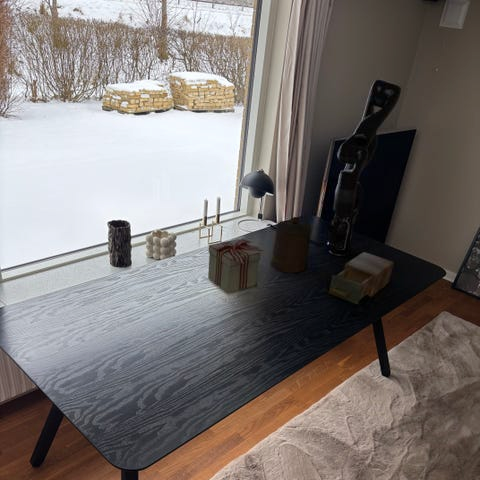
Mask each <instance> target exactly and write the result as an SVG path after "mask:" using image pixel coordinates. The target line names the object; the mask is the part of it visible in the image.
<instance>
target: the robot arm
mask: <svg viewBox="0 0 480 480" xmlns="http://www.w3.org/2000/svg"><path fill="white" fill-rule="evenodd" d="M401 93H402V88H401V86H400V85H399V84H396V83H393V82H390V81H387V80H384V79H380V78H377V79H375V80H374V82H373V83H372V85H371V88H370V90H369V94H368V97H367V100H366V103H365V108H364V111H363V115H362V118H361V121H360V122H359V124H358V125H357V127H356V129H355V130H354V132H353V134H351V135H350V136H349V137H348V138H347V139H346V140H345V141H344V142H343V143H342V144H341V145H340V146H339V149H338V151H337V159H338V161H339V162H340V163H342V164H345V167H344V170H340V172H339V175H338V181H337V185H336V188H335V191H334V200H333V206H332V210H333V212H334V213H335V214H334V217H333V219H330V220H329V237H328V239H327V240H323V241H320V242H316V241H314V240H312V239H311V238H310V239H309V243H311V244H314V245H317V246H321V245H322V244H325V247H327V250H326V251H327V252H328V253H329V254H331V255H332V256H336V257H348V255H349V254H350V247H351V242H352V237H353V232H354V227H355V223H356V217H357V216H358V214H359V212H360V208H361V204H362V200H363V194H364V193H363V192H364V191H363V190H364V189H363V186H362V184H361V183H360V182H359V178H360V175H361V173H362V171H363V170H364V169H365V168H366V166H367V165H368V164H369V163H370V162H371V160H372V158H373V157H374V154H375V151H376V149H377V146H378V134H377V132H378V130H379V129H380V127H381V126H382V124H383V123H384V122H385V121H386V120H387V119H388V117H389V116H390V114H391V113H392V112H393V110H394V109H395V108H396V106H397V104H398V102H399V100H400V98H401ZM375 108H379V109H378V110H377V111H376V112H375ZM344 221H348V222H349V224H350V227H349V232H348V237H347V241H346V246H345V249H342V250H340V249H336V248H334V247H331V246H329V241H330V238H331V233H332V234H333V235H332V243H335V244H336V243H337V241H338V234H339V231H340V229H341V227H342V224H343V222H344ZM337 225H339V227H338V226H337ZM272 226H274V225H273V224H271V223H268V224H266V227H271V228H273V229H274V230H277V226H274V227H272ZM337 229H338V230H337Z"/></svg>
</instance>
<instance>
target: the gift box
mask: <svg viewBox="0 0 480 480" xmlns="http://www.w3.org/2000/svg"><path fill="white" fill-rule="evenodd" d="M250 243H251V241H250V240H248V239H246V238H241V239H240V238H236V239H232V240H225V241H222V242H217V243H213V244H210V245H208V255H209V257H208V271H207V272H208V274H207V275H208V276H207V278H208V280H210V281H211V282H212V283H213V284H214V285H216V286H217V287H219V288H220V289H221V290H223V291H224V292H225V293H226V294H231V293H235V292H237V291H241V290H245V289H247V288H253V287H255V286H257V282H258V273H259V272H258V271H259V262H260V260H261V254H262V253H261V252H264V250H263V249H261V248H259V246H255V245H250Z"/></svg>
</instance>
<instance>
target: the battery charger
mask: <svg viewBox="0 0 480 480" xmlns="http://www.w3.org/2000/svg"><path fill="white" fill-rule="evenodd" d="M337 226H338V227H339V225H337ZM349 227H350V224H349V222H348V221H344V222H343V224H342V227H341V229H340V231H339V234H338V241H337V243H336V244H335V243H332V235H333V234H332V233H331V238H330V241H329V246H331V247H334V248H336V249H340V250H342V249H345V246H346V241H347V237H348V232H349ZM337 230H338V229H337Z"/></svg>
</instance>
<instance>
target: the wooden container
mask: <svg viewBox="0 0 480 480" xmlns="http://www.w3.org/2000/svg"><path fill="white" fill-rule="evenodd" d="M276 228H277V229H275V230H276V231H275V232H276V233H275V238H274V244H273V252H272V262H271V265H272V266H273V268H275V269H276V270H279V271H281V272H284V273H299V272H302V271H304V270H305V269H306V267H307V260H308V254H309V246H310V241H309V239H310V240H311V235H312V234H311V233H312V227H311V225H310V224H308V223H307V222H303V221H300V218H298V217H297V216H293V217H291V218H290V219H289V220H281V221H279V222H278V223H277V225H276Z"/></svg>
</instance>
